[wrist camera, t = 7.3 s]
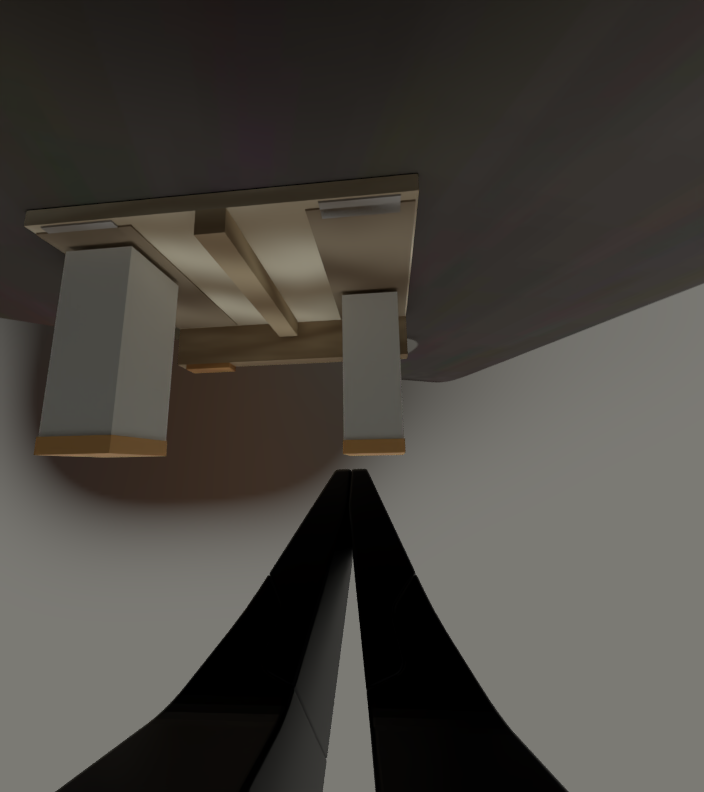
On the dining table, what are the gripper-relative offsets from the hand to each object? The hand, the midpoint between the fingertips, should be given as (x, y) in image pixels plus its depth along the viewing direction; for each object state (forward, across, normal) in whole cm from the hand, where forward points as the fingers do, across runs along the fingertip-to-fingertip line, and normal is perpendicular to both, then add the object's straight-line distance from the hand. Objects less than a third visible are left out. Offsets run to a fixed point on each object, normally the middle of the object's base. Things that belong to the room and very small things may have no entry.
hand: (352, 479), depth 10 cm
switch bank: (+16, +6, -1) cm, 17 cm away
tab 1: (+13, +13, -3) cm, 18 cm away
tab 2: (+17, 0, +2) cm, 17 cm away
